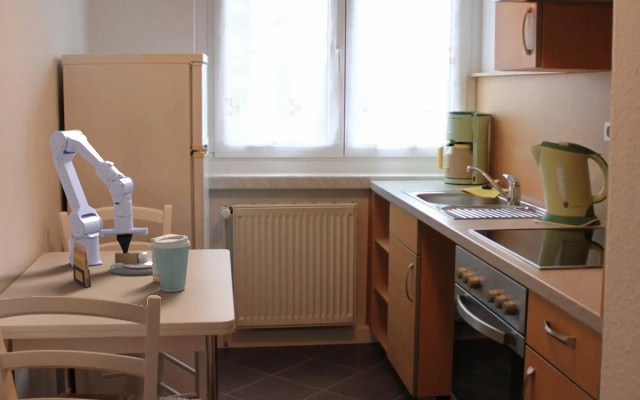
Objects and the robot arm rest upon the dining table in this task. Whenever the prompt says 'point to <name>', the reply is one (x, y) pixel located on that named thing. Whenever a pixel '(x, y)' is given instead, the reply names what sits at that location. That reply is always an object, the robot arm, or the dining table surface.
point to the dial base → (129, 270)
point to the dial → (134, 260)
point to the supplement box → (154, 266)
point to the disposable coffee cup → (172, 261)
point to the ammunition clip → (81, 266)
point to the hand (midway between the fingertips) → (125, 257)
